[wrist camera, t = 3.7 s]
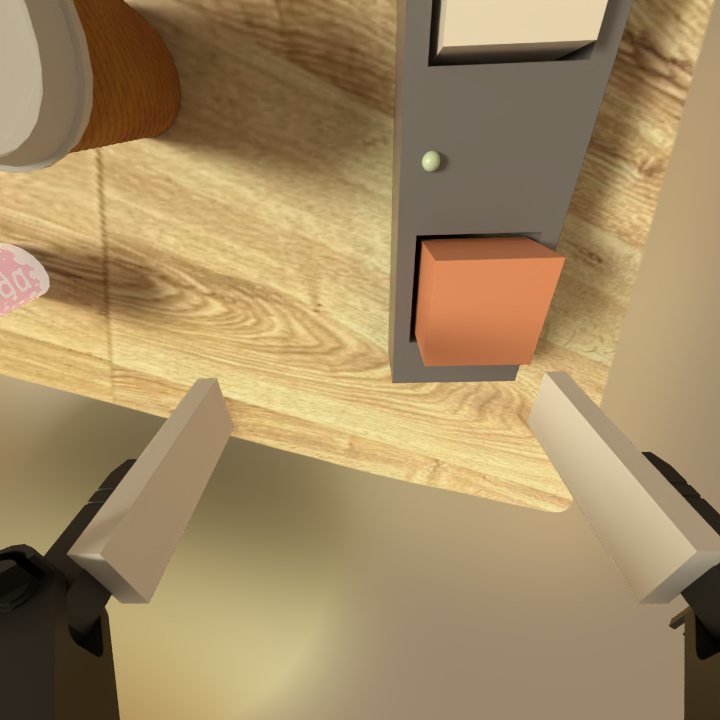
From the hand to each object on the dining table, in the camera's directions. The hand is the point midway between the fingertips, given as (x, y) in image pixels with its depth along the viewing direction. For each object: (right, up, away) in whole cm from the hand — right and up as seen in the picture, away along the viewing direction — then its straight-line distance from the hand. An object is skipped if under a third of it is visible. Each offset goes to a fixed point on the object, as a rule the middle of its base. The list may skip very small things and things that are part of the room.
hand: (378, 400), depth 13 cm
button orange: (+7, +7, +10) cm, 14 cm away
